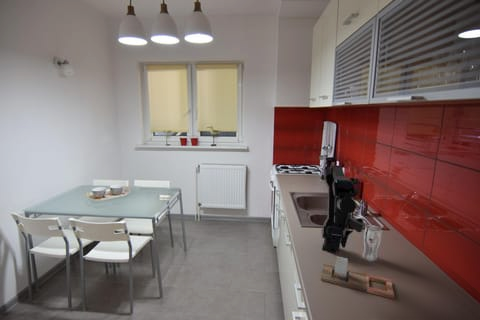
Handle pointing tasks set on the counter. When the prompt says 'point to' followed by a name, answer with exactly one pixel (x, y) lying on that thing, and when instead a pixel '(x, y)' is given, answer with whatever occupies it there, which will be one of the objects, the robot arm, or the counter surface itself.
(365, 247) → the beer glass
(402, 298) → the counter surface
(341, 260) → the square peg
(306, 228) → the counter surface
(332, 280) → the brown flat frame piece
